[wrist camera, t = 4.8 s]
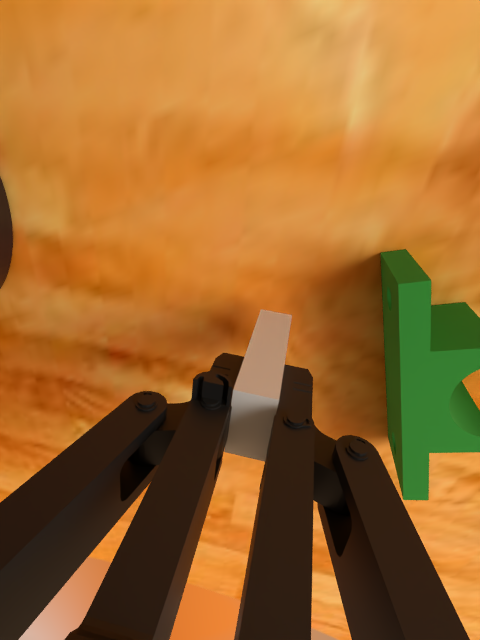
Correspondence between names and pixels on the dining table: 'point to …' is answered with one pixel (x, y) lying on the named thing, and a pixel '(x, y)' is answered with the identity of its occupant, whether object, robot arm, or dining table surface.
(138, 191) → the dining table surface
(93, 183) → the dining table surface
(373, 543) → the robot arm
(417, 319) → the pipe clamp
